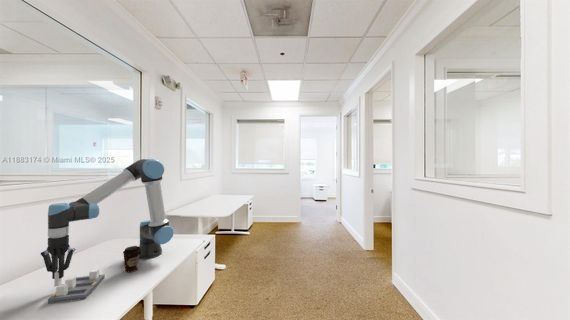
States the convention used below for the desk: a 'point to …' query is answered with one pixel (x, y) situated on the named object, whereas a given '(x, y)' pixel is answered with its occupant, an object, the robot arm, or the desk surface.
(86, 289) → the switch board
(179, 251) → the desk surface
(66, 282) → the tab
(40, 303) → the desk surface
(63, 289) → the tab
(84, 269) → the desk surface
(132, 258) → the coffee cup
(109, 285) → the desk surface
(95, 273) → the tab
